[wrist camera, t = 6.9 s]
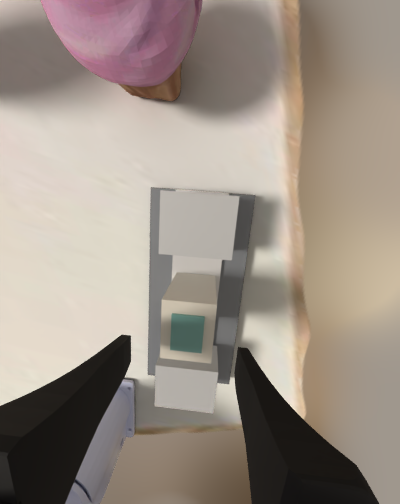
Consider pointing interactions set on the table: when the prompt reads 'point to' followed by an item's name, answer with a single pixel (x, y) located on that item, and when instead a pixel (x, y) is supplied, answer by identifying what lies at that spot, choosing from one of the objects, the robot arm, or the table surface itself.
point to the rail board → (197, 262)
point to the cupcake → (129, 40)
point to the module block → (189, 318)
